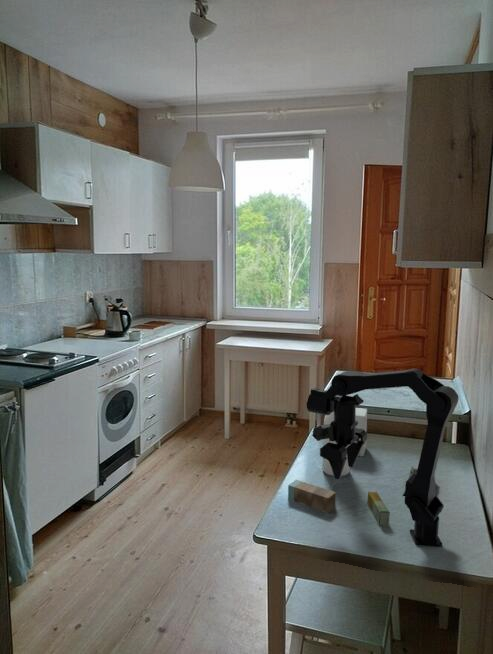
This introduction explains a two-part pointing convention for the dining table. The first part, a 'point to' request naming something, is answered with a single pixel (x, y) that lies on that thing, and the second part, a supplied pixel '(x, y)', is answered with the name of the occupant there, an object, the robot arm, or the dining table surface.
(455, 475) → the dining table surface
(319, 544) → the dining table surface
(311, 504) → the wooden block
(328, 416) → the alcohol
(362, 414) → the supplement box
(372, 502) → the medication box
